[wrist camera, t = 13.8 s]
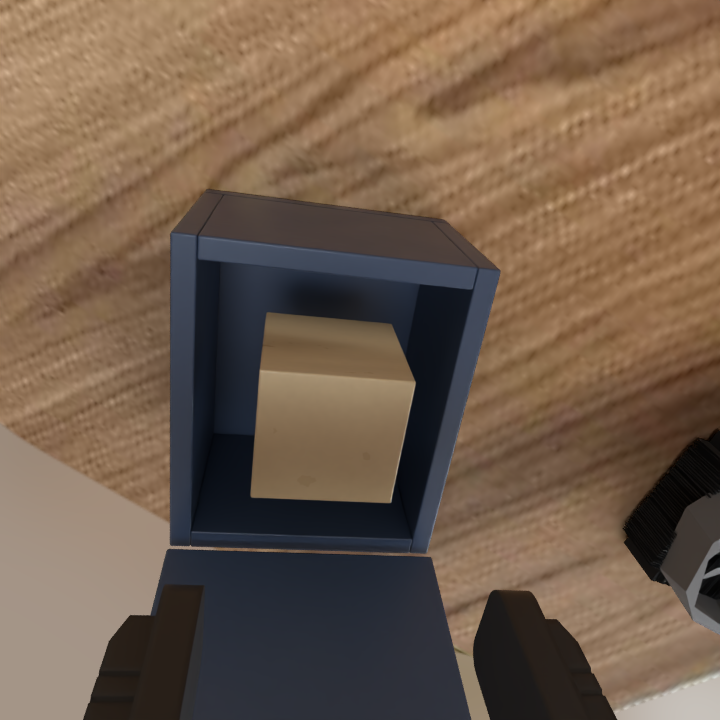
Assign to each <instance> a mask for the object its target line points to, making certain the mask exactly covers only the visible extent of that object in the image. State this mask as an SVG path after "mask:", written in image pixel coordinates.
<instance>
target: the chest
mask: <svg viewBox="0 0 720 720" xmlns="http://www.w3.org/2000/svg"><path fill="white" fill-rule="evenodd" d="M499 276H500V270H499V269H498V268H497V267H496V266H495V265H494V264H493V263H492V262H491V261H489V260H488V259H487V258H486V257H485V256H484V255H483V254H482V253H481V252H479V251H478V250H477V249H476V248H475V247H474V246H473V245H472V244H471V243H470V242H468V241H467V240H466V239H465V238H464V237H463V236H462V235H461V234H460V233H458V232H457V231H456V230H455V229H454V228H453V227H452V226H451V225H450V224H448V223H447V222H446V221H445V220H442V219H435V218H427V217H419V216H412V215H404V214H396V213H388V212H381V211H373V210H365V209H358V208H350V207H342V206H334V205H327V204H319V203H311V202H303V201H296V200H288V199H280V198H273V197H265V196H257V195H249V194H242V193H234V192H226V191H219V190H211V189H206V191H205V192H204V193H203V194H202V195H201V197H200V198H199V199H198V200H197V201H196V203H195V204H194V205H193V206H192V207H191V209H190V210H189V211H188V212H187V213H186V215H185V216H184V217H183V218H182V219H181V221H180V222H179V223H178V224H177V226H176V227H175V228H174V229H173V230H172V232H171V233H170V545H171V546H190V545H191V546H192V547H224V548H256V549H287V550H319V551H351V552H383V553H409V552H410V553H421V554H426V553H427V551H428V547H429V543H430V539H431V536H432V532H433V528H434V524H435V520H436V517H437V513H438V509H439V505H440V501H441V497H442V494H443V490H444V486H445V482H446V478H447V474H448V471H449V467H450V463H451V459H452V455H453V452H454V448H455V444H456V440H457V436H458V432H459V429H460V425H461V421H462V417H463V413H464V410H465V406H466V402H467V398H468V394H469V390H470V387H471V383H472V379H473V375H474V371H475V368H476V364H477V360H478V356H479V352H480V348H481V345H482V341H483V337H484V333H485V329H486V326H487V322H488V318H489V314H490V310H491V306H492V303H493V299H494V295H495V291H496V287H497V284H498V280H499ZM267 312H270V313H281V314H292V315H302V316H313V317H324V318H335V319H345V320H356V321H367V322H378V323H388V324H392V326H393V329H394V331H395V333H396V336H397V338H398V341H399V343H400V346H401V348H402V350H403V353H404V355H405V358H406V360H407V363H408V365H409V367H410V370H411V372H412V375H413V377H414V380H415V382H416V384H415V389H414V394H413V399H412V403H411V408H410V413H409V418H408V423H407V427H406V432H405V437H404V442H403V446H402V451H401V456H400V461H399V466H398V470H397V475H396V480H395V485H394V489H393V494H392V499H391V502H390V503H372V502H348V501H324V500H299V499H275V498H252V497H251V496H250V494H251V480H252V466H253V453H254V439H255V426H256V412H257V398H258V385H259V371H260V363H261V354H262V345H263V337H264V328H265V319H266V313H267Z"/></svg>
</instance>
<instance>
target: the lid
mask: <svg viewBox="0 0 720 720" xmlns="http://www.w3.org/2000/svg"><path fill="white" fill-rule="evenodd" d="M165 584H173V585H205V600H204V626H203V646H202V656H201V664H200V672H199V678H198V685H197V691H196V697H195V703H194V710H193V716H192V720H471V717H470V713H469V709H468V705H467V700H466V696H465V692H464V688H463V685H462V680H461V676H460V672H459V668H458V664H457V660H456V656H455V652H454V647H453V643H452V639H451V635H450V631H449V627H448V623H447V619H446V615H445V611H444V607H443V603H442V599H441V595H440V590H439V586H438V582H437V578H436V574H435V570H434V566H433V562H432V558H431V557H413V556H380V555H348V554H315V553H282V552H249V551H217V550H183V549H168V550H167V551H166V556H165V559H164V563H163V568H162V572H161V576H160V580H159V583H158V588H157V591H156V595H155V600H154V603H153V607H152V611H151V615H150V616H156V612H157V608H158V605H159V601H160V597H161V593H162V590H163V587H164V585H165Z"/></svg>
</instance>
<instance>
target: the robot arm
mask: <svg viewBox="0 0 720 720" xmlns="http://www.w3.org/2000/svg"><path fill="white" fill-rule="evenodd" d="M204 600H205V585H173V584H165V585H164V587H163V590H162V593H161V597H160V601H159V605H158V608H157V612H156V616H149V615H146V616H145V615H143V616H142V615H130V616H129V617H128V618H127V620H126V621H125V622H124V623H123V624H122V626H121V627H120V628H119V629H118V631H117V632H116V633H115V634H114V636H113V637H112V638H111V640H110V641H109V643H108V646H107V649H106V652H105V656H104V658H103V661H102V664H101V667H100V670H99V676H98V677H97V679H96V683H95V686H94V688H93V692H92V694H91V700H90V703H89V704H88V707H87V709H86V713H85V716H84V719H83V720H192V716H193V710H194V703H195V697H196V691H197V685H198V678H199V672H200V664H201V656H202V646H203V626H204ZM473 658H474V667H475V671H476V675H477V678H478V682H479V685H480V688H481V691H482V694H483V698H484V700H485V704H486V707H487V711H488V714H489V717H490V720H617V719H616V716H615V714H614V713H613V711H612V709H611V707H610V705H609V703H608V701H607V699H606V697H605V696H603V695H602V689H601V687H600V685H599V683H598V681H597V679H596V677H595V675H594V674H592V673H591V667H590V665H589V663H588V661H587V659H586V657H585V655H584V654H583V652H582V650H581V648H580V646H579V644H578V642H577V641H576V640H575V639H574V638H573V636H572V635H571V634H570V633H569V632H568V631H567V630H566V629H565V628H564V627H563V626H562V625H561V623H560V622H559V621H558V620H557V619H545V617H544V615H543V613H542V611H541V608H540V606H539V604H538V602H537V600H536V598H535V596H534V595H533V594H532V593H531V592H529V591H512V590H494V591H492V592H491V593H490V595H489V598H488V601H487V604H486V607H485V610H484V613H483V616H482V619H481V622H480V625H479V628H478V630H477V633H476V636H475V640H474V646H473Z"/></svg>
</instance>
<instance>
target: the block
mask: <svg viewBox="0 0 720 720" xmlns="http://www.w3.org/2000/svg"><path fill="white" fill-rule="evenodd" d="M415 384H416V382H415V380H414V377H413V375H412V372H411V370H410V367H409V365H408V363H407V360H406V358H405V355H404V353H403V350H402V348H401V346H400V343H399V341H398V338H397V336H396V333H395V331H394V329H393V326H392V324H388V323H378V322H367V321H356V320H345V319H335V318H324V317H313V316H302V315H292V314H281V313H270V312H267V313H266V319H265V328H264V337H263V345H262V354H261V363H260V371H259V385H258V398H257V412H256V426H255V439H254V453H253V466H252V480H251V494H250V496H251V497H252V498H275V499H299V500H324V501H348V502H372V503H390V502H391V499H392V494H393V489H394V485H395V480H396V475H397V470H398V466H399V461H400V456H401V451H402V446H403V442H404V437H405V432H406V427H407V423H408V418H409V413H410V408H411V403H412V399H413V394H414V389H415Z"/></svg>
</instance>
